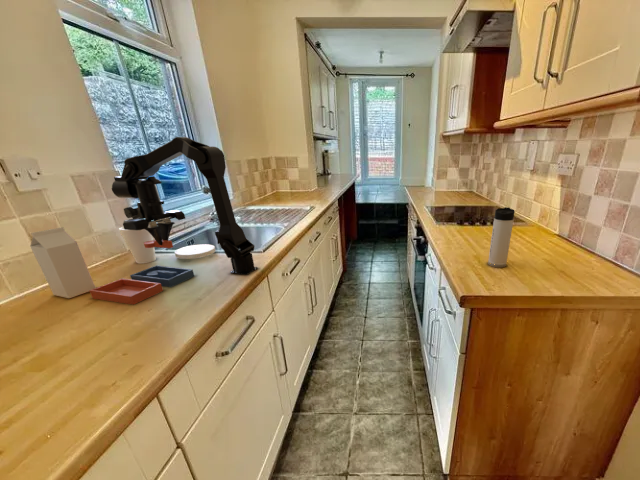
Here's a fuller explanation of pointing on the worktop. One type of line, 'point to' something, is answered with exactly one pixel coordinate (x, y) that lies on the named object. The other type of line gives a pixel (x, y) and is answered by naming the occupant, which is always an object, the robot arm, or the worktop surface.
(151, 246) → the terracotta spoon
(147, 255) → the foam cup
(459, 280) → the worktop surface
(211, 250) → the plastic lid
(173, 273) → the blue spoon
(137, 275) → the blue tray
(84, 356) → the worktop surface
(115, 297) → the terracotta tray
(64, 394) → the worktop surface
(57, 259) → the milk carton
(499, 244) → the travel mug
